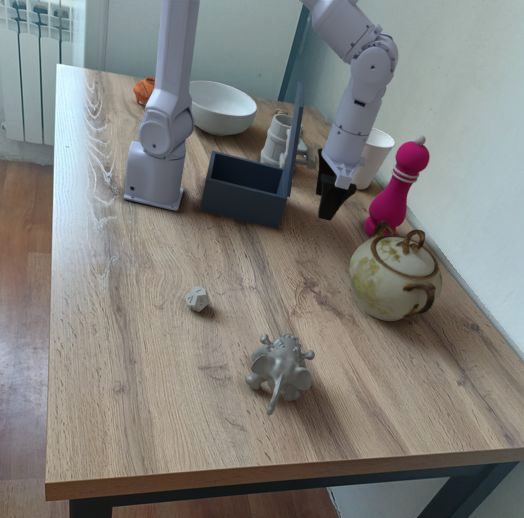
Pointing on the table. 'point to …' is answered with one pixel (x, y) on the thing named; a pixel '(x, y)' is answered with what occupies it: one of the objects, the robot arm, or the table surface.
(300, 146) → the knife
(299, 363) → the elephant statuette
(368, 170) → the cup
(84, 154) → the table surface
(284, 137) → the mug
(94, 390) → the table surface
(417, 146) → the pepper mill
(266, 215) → the compartment
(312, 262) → the table surface
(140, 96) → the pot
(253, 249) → the table surface
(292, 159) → the lid
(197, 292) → the game die
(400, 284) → the sugar bowl
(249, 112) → the cereal bowl
